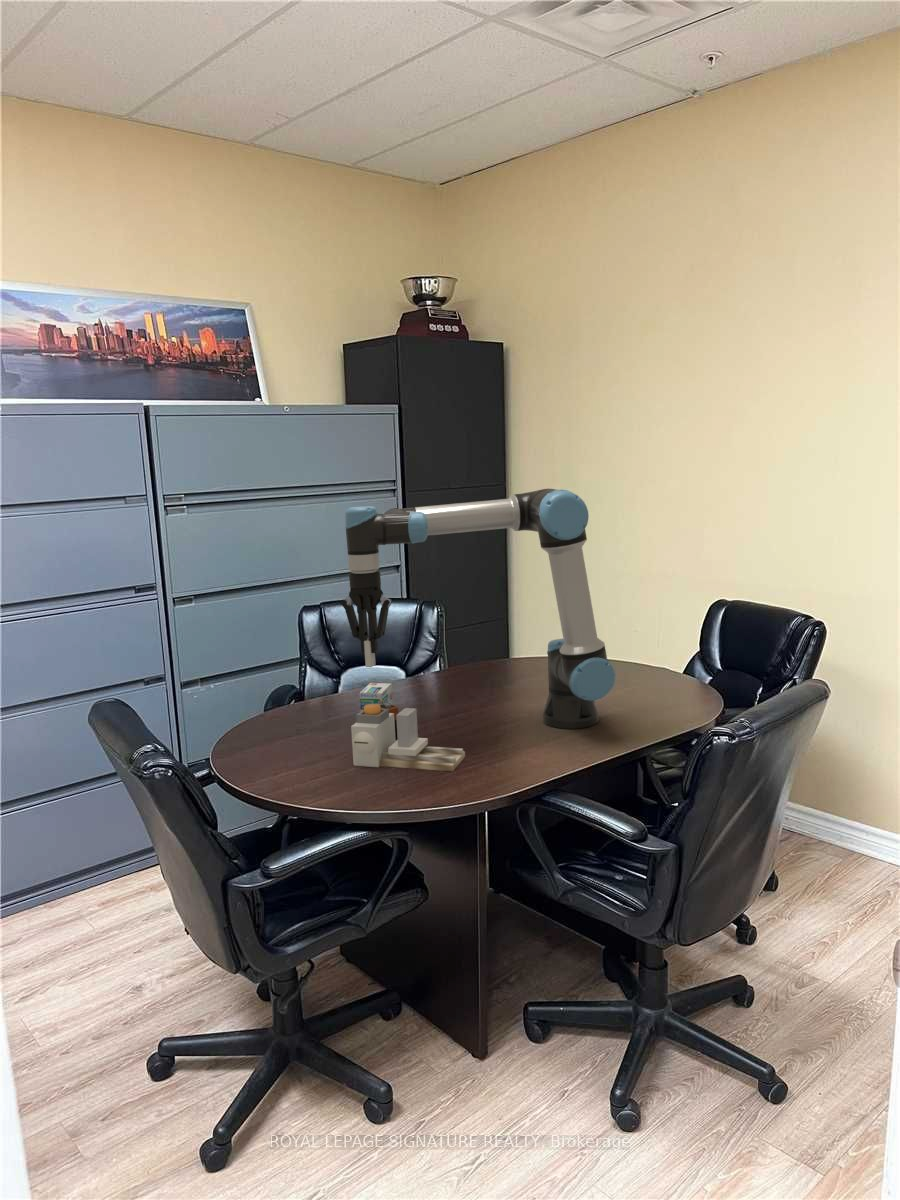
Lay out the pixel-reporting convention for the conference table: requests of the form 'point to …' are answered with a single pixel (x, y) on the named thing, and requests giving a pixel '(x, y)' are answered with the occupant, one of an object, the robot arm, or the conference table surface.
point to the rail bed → (426, 759)
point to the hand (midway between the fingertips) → (370, 665)
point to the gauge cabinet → (372, 737)
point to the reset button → (372, 709)
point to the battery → (391, 710)
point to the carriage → (407, 734)
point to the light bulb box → (376, 694)
